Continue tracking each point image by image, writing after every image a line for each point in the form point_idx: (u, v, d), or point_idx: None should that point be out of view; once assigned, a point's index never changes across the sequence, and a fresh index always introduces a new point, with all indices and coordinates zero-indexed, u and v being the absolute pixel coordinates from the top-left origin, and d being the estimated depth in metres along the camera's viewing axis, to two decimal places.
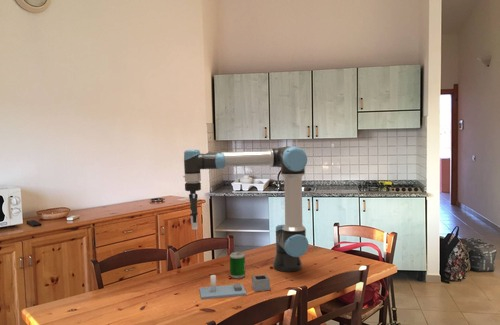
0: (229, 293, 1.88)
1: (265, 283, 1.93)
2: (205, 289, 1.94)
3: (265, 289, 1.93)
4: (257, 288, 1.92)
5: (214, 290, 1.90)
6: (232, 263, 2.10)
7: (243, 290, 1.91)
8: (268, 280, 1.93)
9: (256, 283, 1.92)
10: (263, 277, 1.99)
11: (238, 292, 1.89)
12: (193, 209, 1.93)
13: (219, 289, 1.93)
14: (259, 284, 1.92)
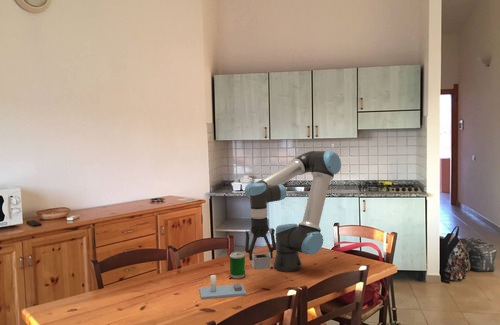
0: (229, 293, 1.88)
1: (265, 261, 1.92)
2: (205, 289, 1.94)
3: (265, 267, 1.93)
4: (258, 267, 1.92)
5: (214, 290, 1.90)
6: (232, 263, 2.10)
7: (243, 290, 1.91)
8: (268, 258, 1.93)
9: (256, 261, 1.92)
10: (263, 256, 1.98)
11: (238, 292, 1.89)
12: (245, 246, 1.94)
13: (219, 289, 1.93)
14: (259, 262, 1.92)
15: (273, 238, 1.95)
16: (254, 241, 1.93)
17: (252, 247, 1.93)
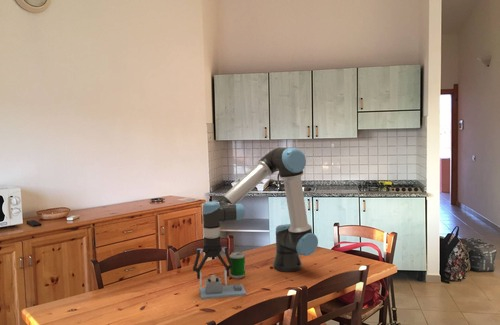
0: (229, 293, 1.88)
1: (217, 286, 1.88)
2: None
3: (217, 292, 1.88)
4: (209, 291, 1.87)
5: None
6: (232, 263, 2.10)
7: (243, 290, 1.91)
8: (220, 283, 1.88)
9: (208, 286, 1.87)
10: (216, 280, 1.94)
11: (238, 292, 1.89)
12: (194, 264, 1.90)
13: None
14: (211, 287, 1.87)
15: (228, 257, 1.90)
16: (204, 260, 1.89)
17: (201, 266, 1.89)
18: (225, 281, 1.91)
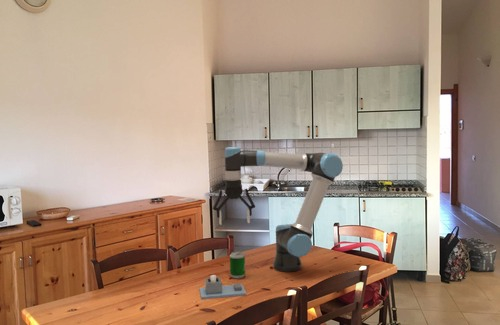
0: (229, 293, 1.88)
1: (217, 286, 1.88)
2: None
3: (217, 292, 1.88)
4: (209, 291, 1.87)
5: None
6: (232, 263, 2.10)
7: (243, 290, 1.91)
8: (220, 283, 1.88)
9: (208, 286, 1.87)
10: (216, 280, 1.94)
11: (238, 292, 1.89)
12: (214, 204, 2.02)
13: None
14: (211, 287, 1.87)
15: (249, 197, 2.03)
16: (225, 201, 2.01)
17: (221, 205, 2.01)
18: (248, 220, 2.03)
